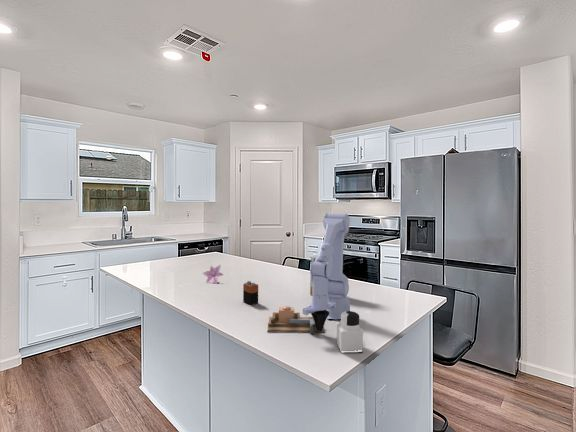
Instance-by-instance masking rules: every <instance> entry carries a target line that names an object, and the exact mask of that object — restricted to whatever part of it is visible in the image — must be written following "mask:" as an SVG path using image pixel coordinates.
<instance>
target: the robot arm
mask: <svg viewBox="0 0 576 432" xmlns="http://www.w3.org/2000/svg"><path fill="white" fill-rule="evenodd" d="M322 222H323V223H322V224H323V227H324V231H325V232H324V237H323V242H322V243H321V244H320V245H319V246H318V250H317V252H316V255H315V256H316V259H315V261H314V262H312V264H311V263H310V268H309V269H310V270H309V271H310V272H309V273H310V281H313V286H312V295H311V298H312V299H311V304H310V305H308V306H306V307H303V308H302V314H303V315H304V316H308V315H309V314H310V315H311V317H313V319H314V321H315V325H316V330H318V331H323V329H324V326H325V323H326V322H327V320H328V319H341V313H342V312H345V311H351V301H350V300H351V299H350V297H349V296H348V295H349V291H350V286H349V278H348V277H347V276H346V275H345V274H344V272H343V273H342V266H343V267H344V244H345V243H344V242H345V236H346V235H347V234H349V231H350V217H349V215H348V213H328V212H327V213H326V212H325V214H324V215H323V218H322ZM331 259H332V261H331ZM330 279H333V280H330ZM336 280H341V281H336Z"/></svg>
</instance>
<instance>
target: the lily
mask: <svg viewBox="0 0 576 432" xmlns="http://www.w3.org/2000/svg"><path fill="white" fill-rule="evenodd" d="M221 267H222V265H221V264H219V265H217V266H216V267H214V266H212V265H210V267H209V270H207V271H204V272H202V275H203V276H205V277H207V279H206V282H205V283H210V282H211V281H212V282H213V283H214V284H216V285H217V283H218V279H219V277H223V276H224V274H223V272H220V271H221Z"/></svg>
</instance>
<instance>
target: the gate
mask: <svg viewBox="0 0 576 432" xmlns="http://www.w3.org/2000/svg"><path fill="white" fill-rule="evenodd" d="M289 323H310V332H309V334H310V335H315V334H316V332H315V324H314V323H313V319H289Z"/></svg>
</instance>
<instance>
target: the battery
mask: <svg viewBox="0 0 576 432" xmlns="http://www.w3.org/2000/svg"><path fill="white" fill-rule="evenodd" d="M242 286H243V288H242V289H243V290H242V291H243V294H242V296H243V298H242V302H243V303H246V304H248V305H251V306H254V305H257V304H259V284H257V283H255V282H252V281H251V280H248V281H247V280H246V282H244V283H243V285H242Z"/></svg>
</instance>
